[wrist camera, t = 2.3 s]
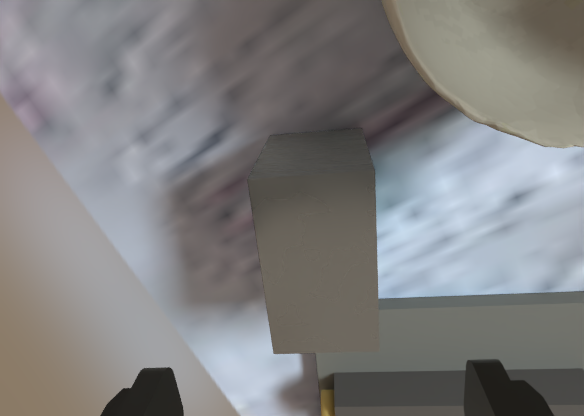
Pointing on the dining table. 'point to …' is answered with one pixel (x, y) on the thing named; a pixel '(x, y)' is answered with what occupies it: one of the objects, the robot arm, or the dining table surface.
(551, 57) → the teacup
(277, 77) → the dining table surface
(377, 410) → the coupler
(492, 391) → the robot arm
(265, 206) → the grey arch block
